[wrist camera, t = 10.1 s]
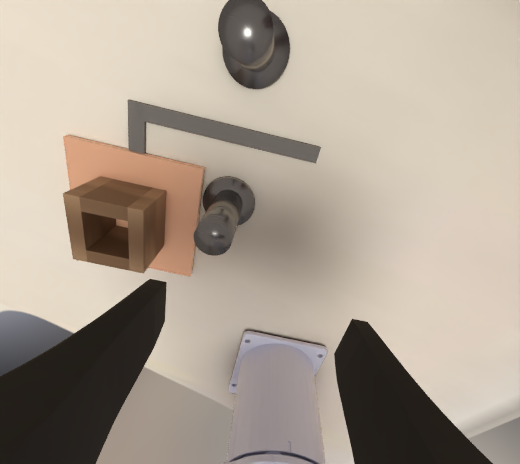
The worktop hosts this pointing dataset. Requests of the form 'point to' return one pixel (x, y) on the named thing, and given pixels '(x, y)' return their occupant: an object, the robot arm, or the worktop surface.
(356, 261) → the worktop surface
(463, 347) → the worktop surface
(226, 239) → the post
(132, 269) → the open wooden crate
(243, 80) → the post
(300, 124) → the worktop surface
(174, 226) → the pad
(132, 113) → the grey flat l-shaped piece
